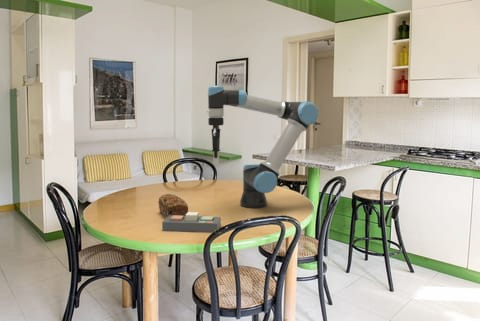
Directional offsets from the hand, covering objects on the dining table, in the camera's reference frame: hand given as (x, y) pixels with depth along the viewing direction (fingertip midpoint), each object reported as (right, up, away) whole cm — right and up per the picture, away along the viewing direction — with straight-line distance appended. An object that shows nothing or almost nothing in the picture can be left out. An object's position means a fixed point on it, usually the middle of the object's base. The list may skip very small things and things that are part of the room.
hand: (216, 164), depth 204 cm
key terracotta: (-17, -28, -18) cm, 37 cm away
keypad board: (-10, -29, -18) cm, 36 cm away
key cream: (-10, -26, -19) cm, 34 cm away
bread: (-22, -27, +2) cm, 35 cm away
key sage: (-3, -28, -19) cm, 34 cm away
